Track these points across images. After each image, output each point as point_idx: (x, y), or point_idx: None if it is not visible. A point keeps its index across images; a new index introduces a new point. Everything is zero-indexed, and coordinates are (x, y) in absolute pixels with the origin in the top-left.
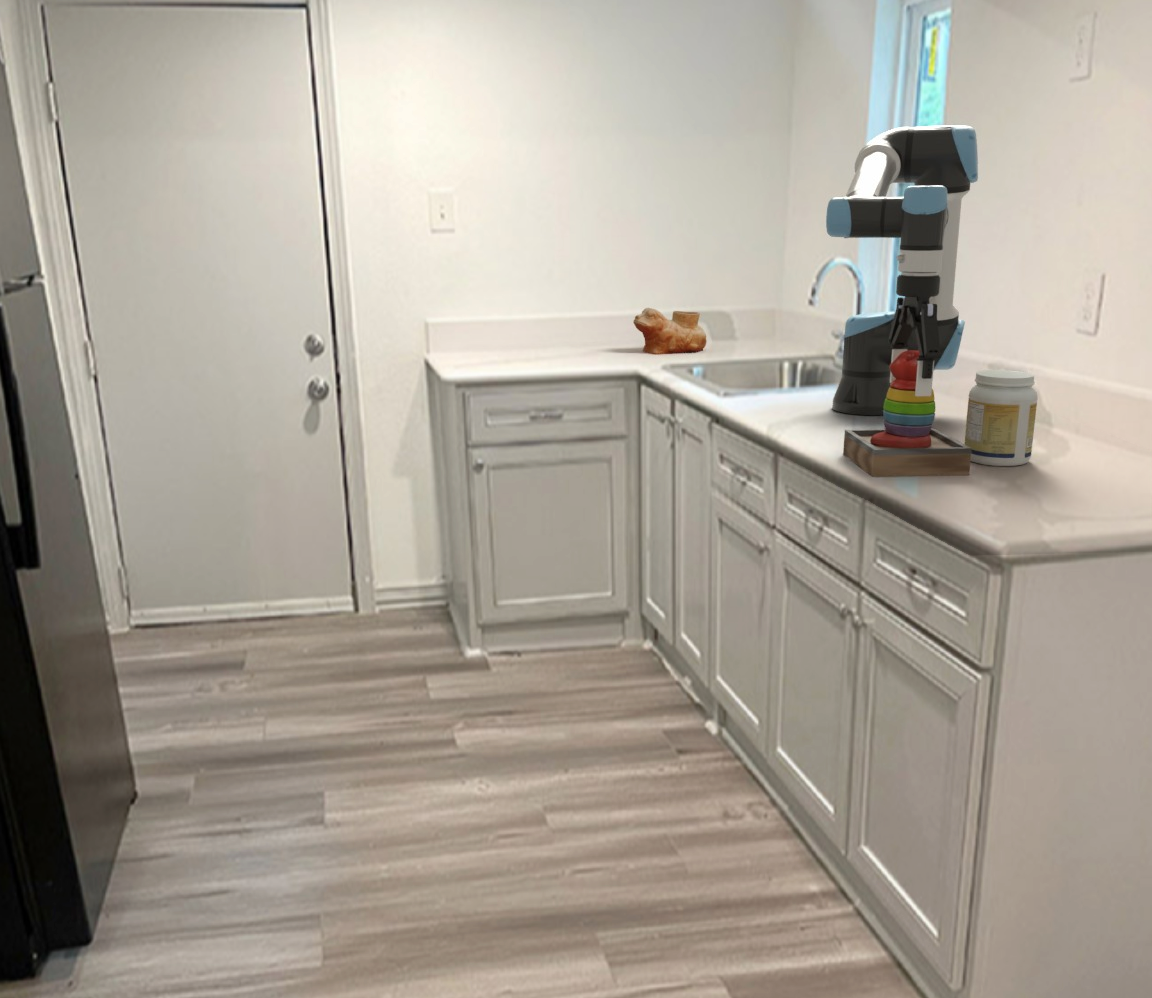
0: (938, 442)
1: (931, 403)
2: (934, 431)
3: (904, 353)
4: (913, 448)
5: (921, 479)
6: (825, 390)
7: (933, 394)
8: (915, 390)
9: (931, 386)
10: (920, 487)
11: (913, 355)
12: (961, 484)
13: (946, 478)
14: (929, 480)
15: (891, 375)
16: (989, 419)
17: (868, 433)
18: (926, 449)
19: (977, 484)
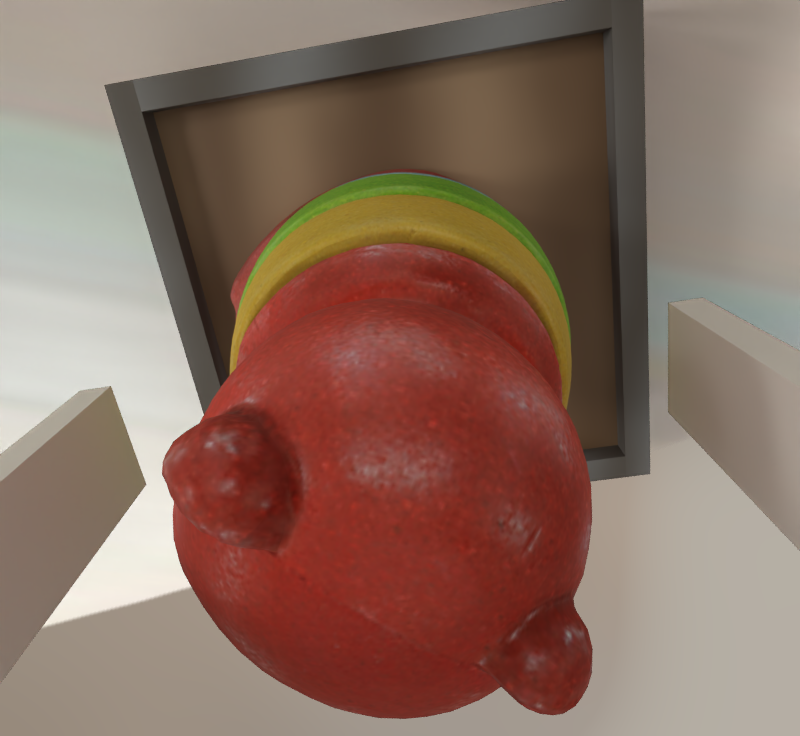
0: (360, 116)
1: (521, 236)
2: (191, 102)
3: (449, 706)
4: (630, 306)
5: (661, 250)
6: None
7: (475, 222)
8: (687, 430)
9: (745, 325)
10: (784, 280)
11: (568, 626)
12: (758, 97)
13: (651, 140)
14: (680, 221)
15: (115, 520)
16: None
17: None
18: (645, 246)
19: (767, 20)
